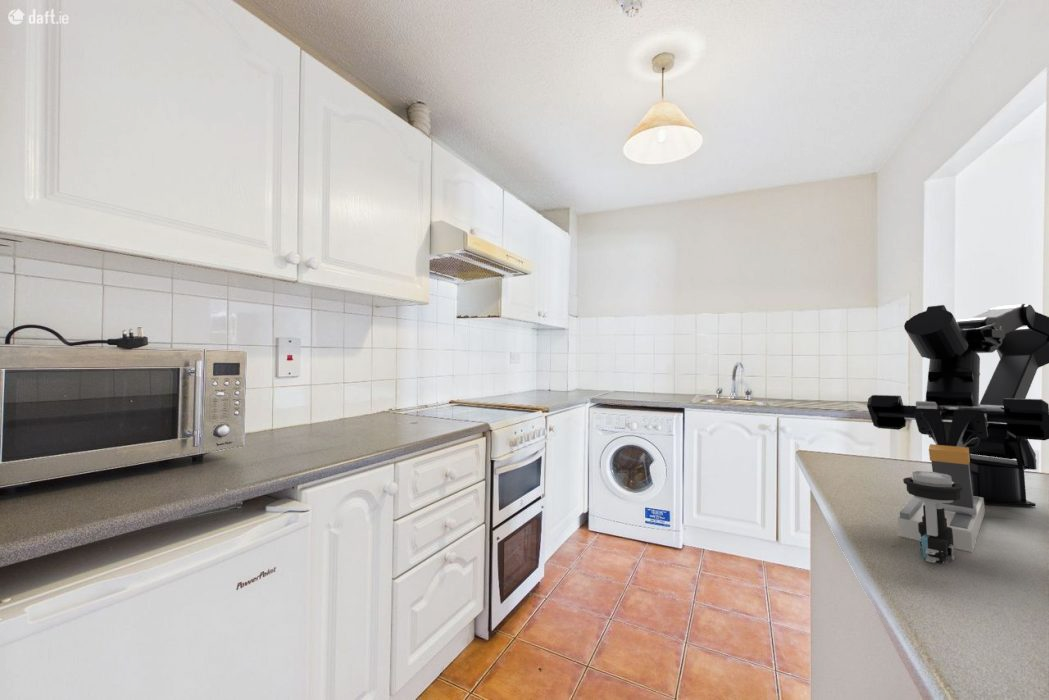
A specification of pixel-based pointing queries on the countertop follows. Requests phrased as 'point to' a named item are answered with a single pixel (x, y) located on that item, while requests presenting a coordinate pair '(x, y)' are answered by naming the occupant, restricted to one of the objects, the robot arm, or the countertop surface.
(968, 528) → the panel
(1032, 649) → the countertop surface
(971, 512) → the lever
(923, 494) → the push button
